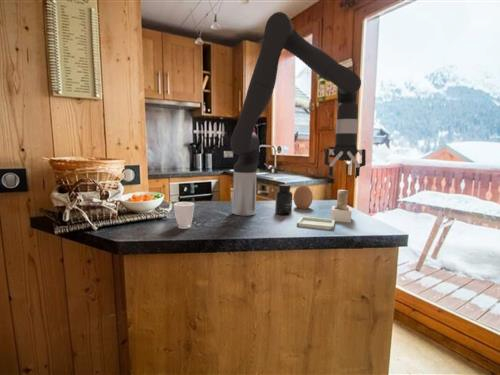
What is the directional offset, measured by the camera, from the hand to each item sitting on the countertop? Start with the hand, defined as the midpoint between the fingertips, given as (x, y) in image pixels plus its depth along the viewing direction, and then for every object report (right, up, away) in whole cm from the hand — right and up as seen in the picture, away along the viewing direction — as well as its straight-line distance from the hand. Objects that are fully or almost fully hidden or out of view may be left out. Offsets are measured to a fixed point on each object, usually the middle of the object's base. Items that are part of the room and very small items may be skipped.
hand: (343, 177), depth 108 cm
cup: (-57, -17, -7) cm, 60 cm away
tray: (-11, -18, -5) cm, 22 cm away
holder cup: (0, -17, +3) cm, 17 cm away
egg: (-11, -14, +22) cm, 28 cm away
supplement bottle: (-21, -15, +14) cm, 29 cm away
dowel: (0, -16, +3) cm, 16 cm away
